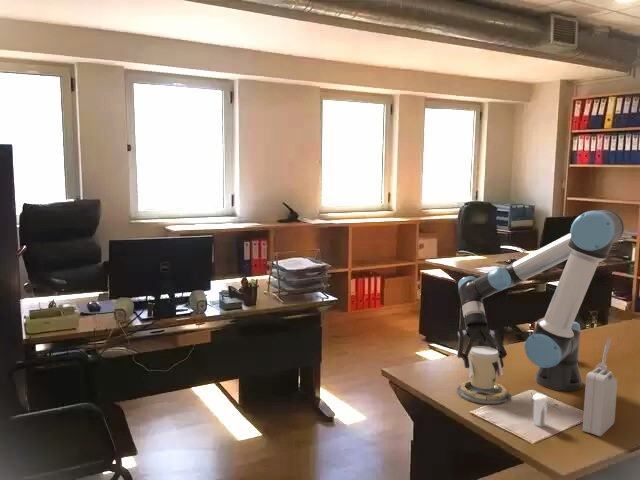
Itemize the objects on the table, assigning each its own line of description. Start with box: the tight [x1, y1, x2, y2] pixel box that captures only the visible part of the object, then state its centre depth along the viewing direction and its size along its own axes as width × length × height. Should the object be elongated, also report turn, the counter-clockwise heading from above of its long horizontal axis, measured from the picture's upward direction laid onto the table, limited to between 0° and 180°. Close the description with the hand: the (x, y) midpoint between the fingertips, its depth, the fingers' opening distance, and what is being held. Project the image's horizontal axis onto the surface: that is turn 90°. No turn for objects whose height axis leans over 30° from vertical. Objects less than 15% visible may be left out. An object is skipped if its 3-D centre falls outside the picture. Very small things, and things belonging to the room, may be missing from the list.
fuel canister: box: [582, 338, 618, 437], centre depth 161 cm, size 15×5×25 cm, turn 135°
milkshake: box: [530, 392, 550, 427], centre depth 162 cm, size 5×5×10 cm
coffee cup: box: [469, 345, 499, 389], centre depth 184 cm, size 9×9×12 cm
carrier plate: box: [456, 379, 511, 406], centre depth 184 cm, size 17×17×2 cm
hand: (486, 376), depth 181 cm, fingers closed on coffee cup, 9 cm apart
